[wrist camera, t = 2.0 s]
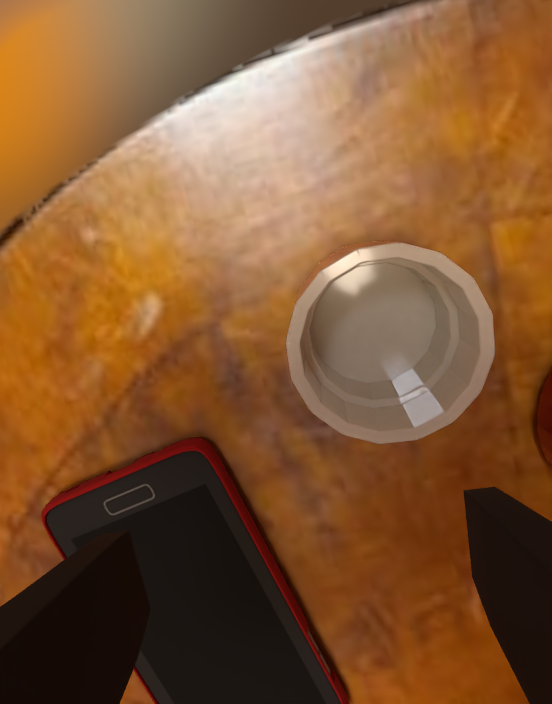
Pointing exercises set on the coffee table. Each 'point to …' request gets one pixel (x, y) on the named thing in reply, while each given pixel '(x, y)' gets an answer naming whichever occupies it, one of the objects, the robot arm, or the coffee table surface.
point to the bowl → (389, 341)
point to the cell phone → (200, 582)
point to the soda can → (546, 420)
